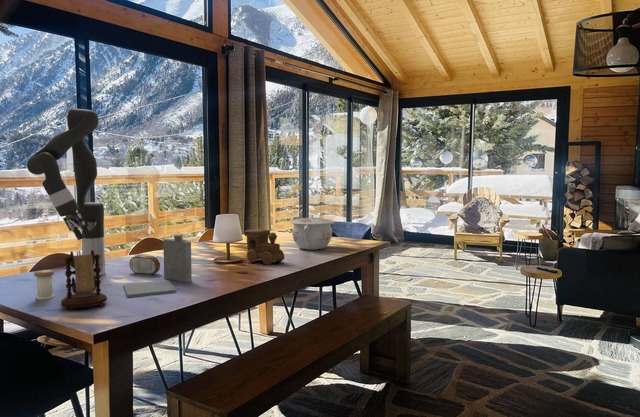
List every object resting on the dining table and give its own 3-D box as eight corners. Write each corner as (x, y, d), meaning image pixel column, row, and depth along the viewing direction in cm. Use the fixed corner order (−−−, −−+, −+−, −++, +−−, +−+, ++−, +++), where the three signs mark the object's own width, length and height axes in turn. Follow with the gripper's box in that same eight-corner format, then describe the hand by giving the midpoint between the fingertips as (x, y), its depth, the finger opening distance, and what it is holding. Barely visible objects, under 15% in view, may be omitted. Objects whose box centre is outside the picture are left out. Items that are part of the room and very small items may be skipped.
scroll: (65, 314, 165) (62, 255, 163) (58, 304, 177) (55, 249, 175) (111, 307, 174) (109, 251, 172) (101, 297, 186) (100, 245, 184)
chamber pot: (315, 243, 320) (315, 211, 318) (343, 249, 298) (344, 215, 297) (280, 247, 302) (280, 214, 300) (307, 254, 281) (307, 218, 279)
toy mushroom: (31, 298, 184) (30, 272, 183) (48, 294, 190) (47, 269, 189) (42, 300, 181) (40, 274, 180) (58, 296, 187) (57, 271, 186)
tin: (160, 274, 227) (160, 256, 226) (156, 275, 224) (156, 257, 223) (132, 272, 231) (132, 254, 231) (128, 273, 228) (128, 255, 227)
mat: (123, 286, 202) (123, 284, 202) (168, 282, 210) (168, 280, 210) (127, 297, 186) (127, 294, 186) (175, 292, 194) (175, 289, 194)
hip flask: (162, 278, 219) (161, 233, 217) (169, 276, 222) (168, 232, 220) (187, 282, 210) (186, 236, 208) (194, 281, 214) (193, 235, 212)
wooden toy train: (243, 261, 257) (242, 230, 256) (257, 258, 266) (257, 228, 265) (272, 266, 246) (272, 233, 244) (286, 262, 255) (286, 231, 254)
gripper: (79, 195, 188) (100, 232, 192) (66, 199, 198) (86, 234, 202) (61, 204, 183) (83, 242, 187) (48, 208, 192) (69, 244, 197)
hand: (85, 238), depth 194 cm, fingers open, 8 cm apart
